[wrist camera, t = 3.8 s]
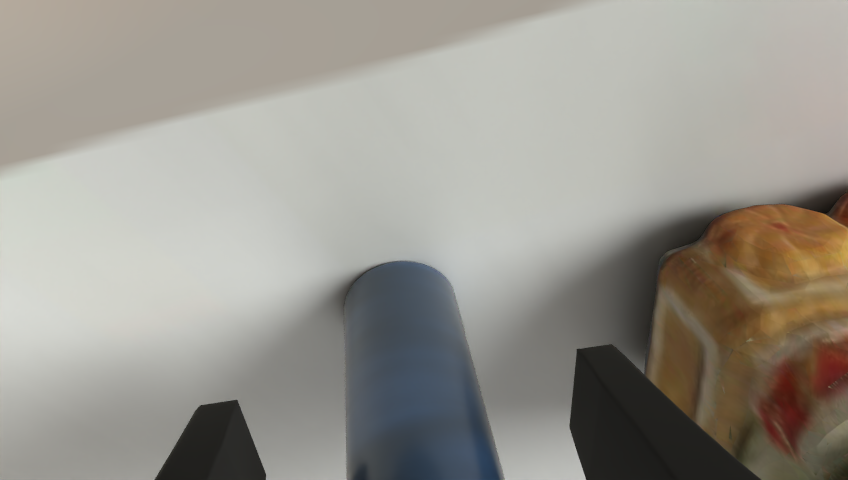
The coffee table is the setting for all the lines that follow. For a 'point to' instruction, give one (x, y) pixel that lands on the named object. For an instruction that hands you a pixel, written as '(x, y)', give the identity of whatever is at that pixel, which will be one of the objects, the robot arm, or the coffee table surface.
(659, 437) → the robot arm
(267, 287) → the coffee table surface
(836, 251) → the ornament
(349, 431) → the peg
